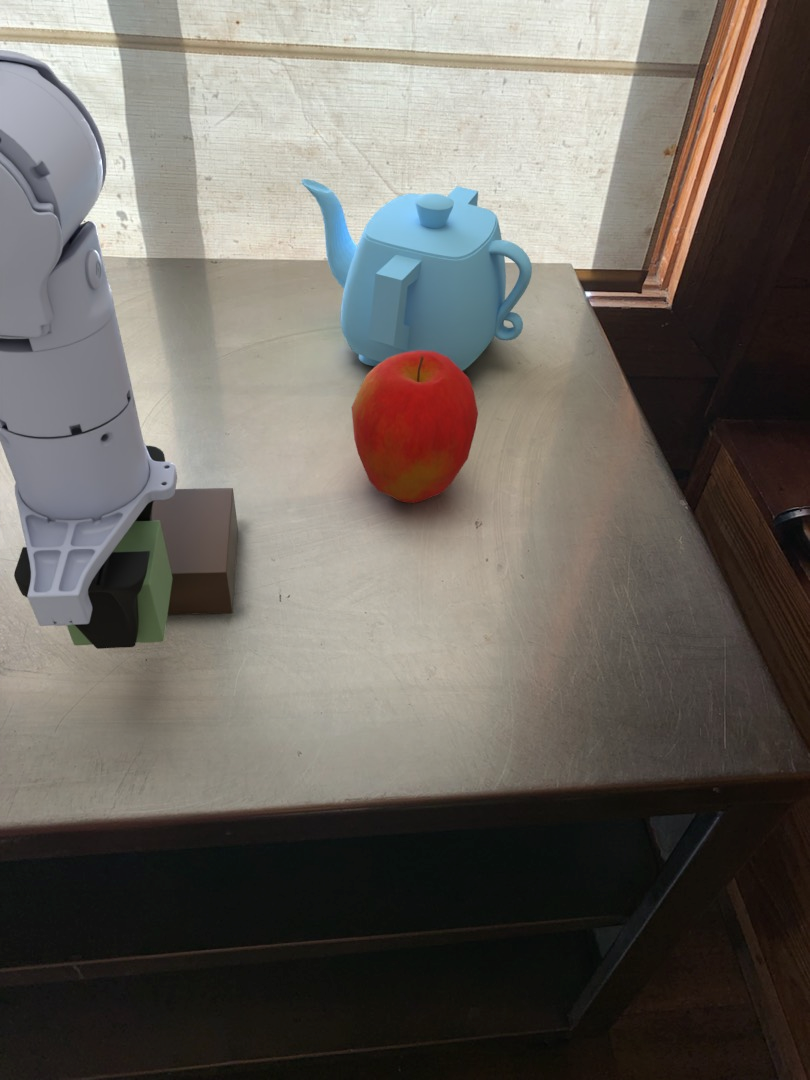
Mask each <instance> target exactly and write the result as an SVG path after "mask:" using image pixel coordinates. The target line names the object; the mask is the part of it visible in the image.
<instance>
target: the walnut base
mask: <svg viewBox="0 0 810 1080" xmlns="http://www.w3.org/2000/svg"><path fill="white" fill-rule="evenodd" d="M235 501H236V500H235V493H234V488H233V487H200V488H199V487H198V488H196V487H195V488H176V489H175V493H174V495H173V496H172V497H171V498H169V499H165V500H154V502H153V506H152V521H160V523H161V527H162V532H163V537H164V541H165V546H166V550H167V555H168V560H169V564H170V569H171V574H172V586H171V593H170V600H169V607H168V615H167V616H179V615H204V614H206V615H207V614H209V615H210V614H231V613H233V609H234V595H235V594H234V593H235V581H236V580H235V578H236V565H237V562H236V561H237V548H238V535H239V533H238V531H239V530H238V529H239V526H238V519H237V510H236V502H235Z"/></svg>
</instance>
